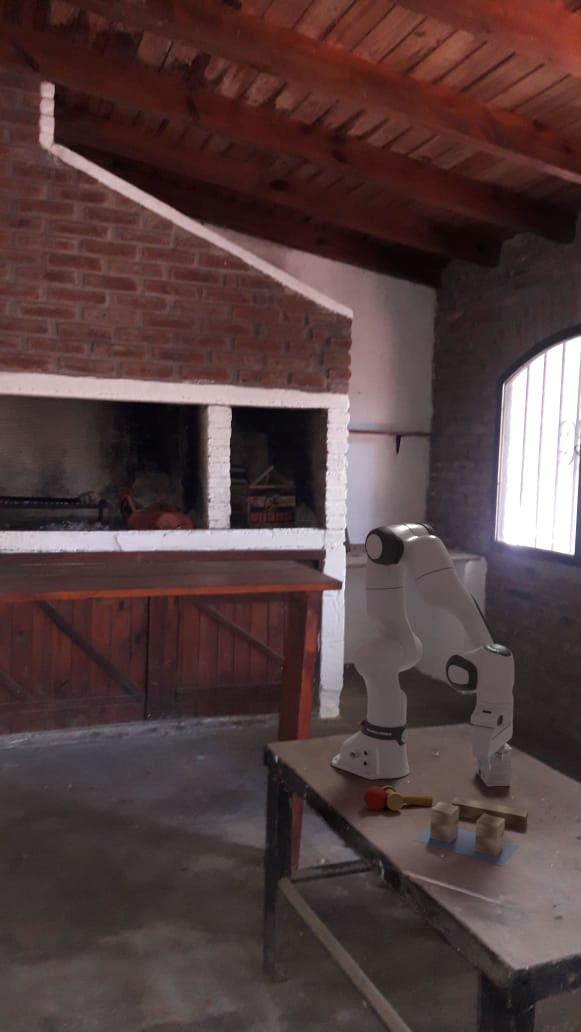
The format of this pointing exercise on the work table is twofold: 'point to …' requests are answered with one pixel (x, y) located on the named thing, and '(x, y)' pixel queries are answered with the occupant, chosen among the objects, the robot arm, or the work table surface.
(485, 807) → the beam
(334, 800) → the work table surface
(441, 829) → the pillar left
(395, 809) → the kendama
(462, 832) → the board
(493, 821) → the pillar right
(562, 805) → the work table surface
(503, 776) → the light bulb box
